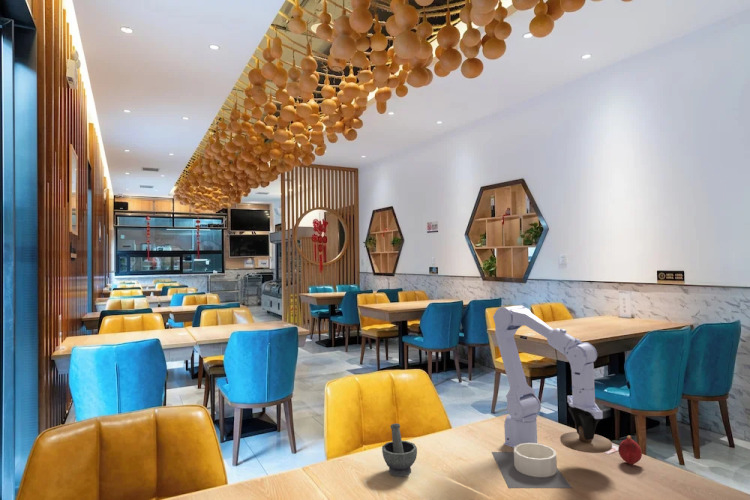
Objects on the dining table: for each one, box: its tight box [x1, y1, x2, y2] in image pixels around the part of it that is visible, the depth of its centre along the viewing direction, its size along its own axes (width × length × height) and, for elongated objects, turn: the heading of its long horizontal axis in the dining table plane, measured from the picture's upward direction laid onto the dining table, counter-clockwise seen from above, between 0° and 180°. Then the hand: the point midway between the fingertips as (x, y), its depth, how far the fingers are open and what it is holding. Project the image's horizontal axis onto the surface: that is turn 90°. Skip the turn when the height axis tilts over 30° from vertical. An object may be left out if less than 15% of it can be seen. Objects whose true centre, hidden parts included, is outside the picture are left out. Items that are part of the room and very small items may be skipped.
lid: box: [559, 425, 613, 454], centre depth 125 cm, size 13×13×4 cm
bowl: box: [513, 442, 558, 478], centre depth 126 cm, size 11×11×5 cm
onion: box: [618, 435, 643, 466], centre depth 127 cm, size 6×6×8 cm
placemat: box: [491, 451, 573, 489], centre depth 126 cm, size 16×22×1 cm
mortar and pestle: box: [381, 423, 418, 478], centre depth 127 cm, size 11×9×12 cm
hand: (585, 436), depth 125 cm, fingers closed on lid, 3 cm apart
